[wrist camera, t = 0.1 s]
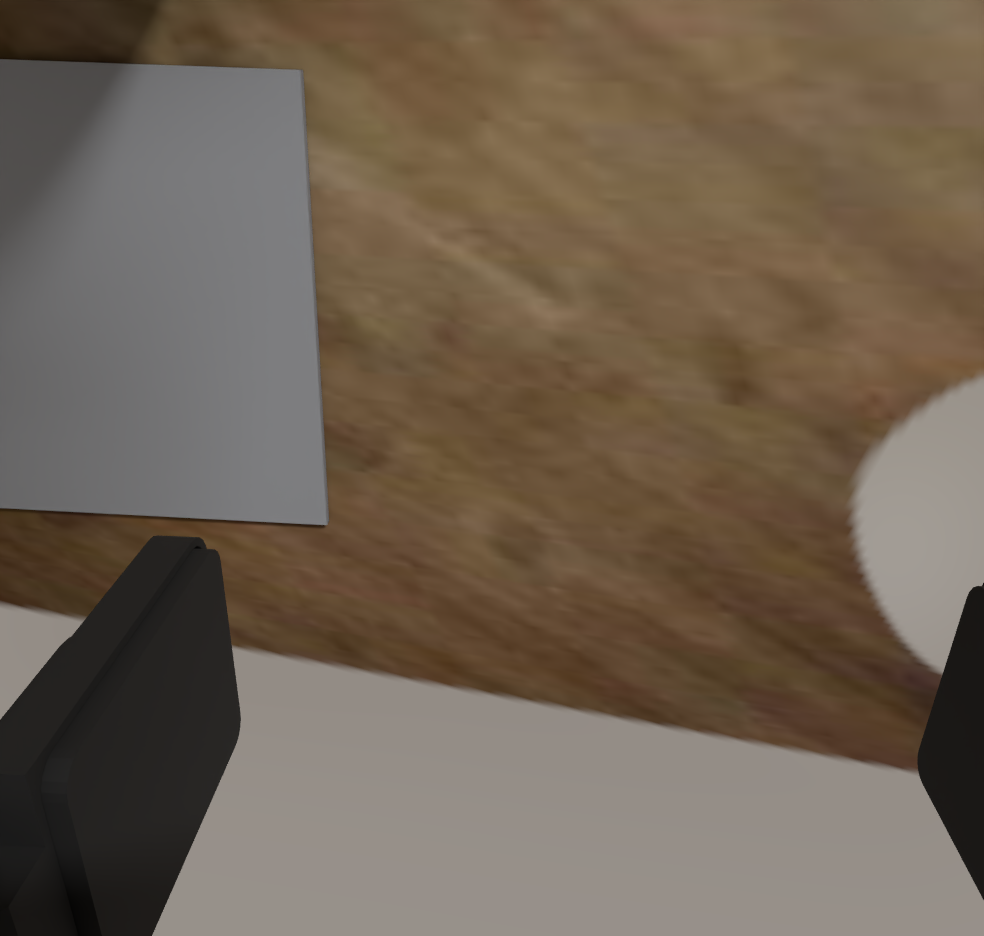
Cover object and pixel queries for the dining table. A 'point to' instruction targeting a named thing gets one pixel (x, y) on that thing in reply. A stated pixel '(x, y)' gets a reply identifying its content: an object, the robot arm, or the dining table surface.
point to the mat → (158, 293)
